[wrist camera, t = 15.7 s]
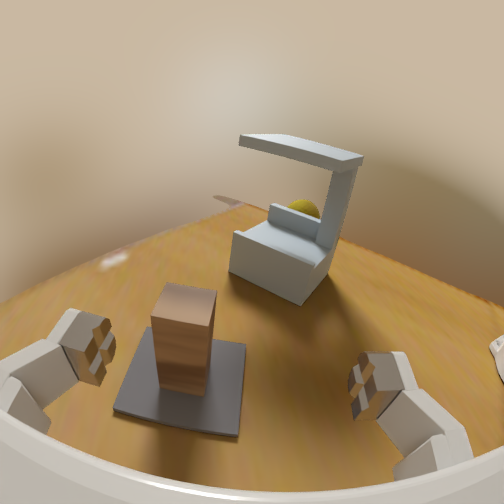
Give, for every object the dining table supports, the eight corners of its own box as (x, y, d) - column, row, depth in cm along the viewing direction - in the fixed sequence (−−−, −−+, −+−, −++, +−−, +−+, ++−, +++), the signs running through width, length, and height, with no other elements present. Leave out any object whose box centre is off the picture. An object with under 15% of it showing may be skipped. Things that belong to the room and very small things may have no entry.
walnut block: (204, 396, 26) (208, 326, 21) (159, 387, 26) (150, 315, 21) (210, 363, 30) (216, 290, 25) (169, 355, 30) (166, 282, 25)
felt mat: (245, 347, 34) (246, 344, 33) (237, 437, 23) (237, 434, 23) (147, 329, 33) (147, 326, 33) (113, 410, 23) (112, 407, 22)
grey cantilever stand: (300, 311, 41) (342, 160, 31) (222, 272, 47) (240, 134, 36) (330, 274, 51) (364, 156, 41) (263, 245, 57) (284, 134, 47)
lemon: (305, 250, 58) (315, 213, 54) (271, 236, 61) (278, 200, 57) (321, 233, 67) (330, 201, 63) (291, 222, 70) (298, 190, 66)
